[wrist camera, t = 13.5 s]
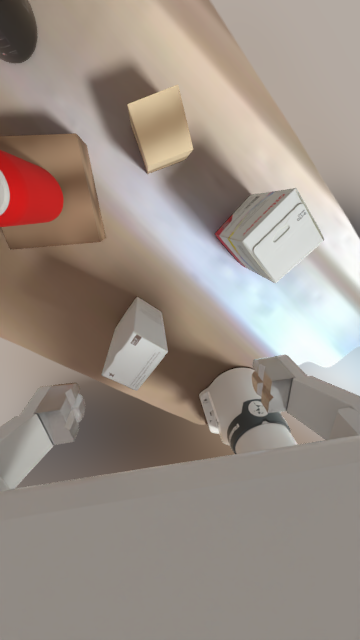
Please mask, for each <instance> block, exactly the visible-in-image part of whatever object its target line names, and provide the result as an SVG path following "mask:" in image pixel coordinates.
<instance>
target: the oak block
mask: <svg viewBox="0 0 360 640" xmlns="http://www.w3.org/2000/svg"><path fill="white" fill-rule="evenodd" d="M127 105H128V111H129V117H130V123H131V126H132V129H133V132H134V135H135V138H136V141H137V144H138V147H139V150H140V153H141V156H142V159H143V162H144V165H145V168H146V171H147V174H149V173H152V172H154V171H157V170H160V169H162V168H165V167H168V166H170V165H173V164H176V163H178V162H181V161H183V160H186V158H187V157H188V156H189V154H190V153H191V152H192V150H193V146H192V141H191V137H190V133H189V129H188V125H187V120H186V116H185V112H184V108H183V103H182V99H181V95H180V91H179V87H178V85H175V86H173V87H170V88H168V89H165V90H163V91H160V92H157V93H155V94H152V95H150V96H147V97H145V98H142V99H139V100H137V101H134V102H132V103H129V104H127Z"/></svg>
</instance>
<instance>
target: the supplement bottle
mask: <svg viewBox="0 0 360 640" xmlns="http://www.w3.org/2000/svg"><path fill="white" fill-rule="evenodd" d="M36 43H37V27H36V21H35V17H34V14H33V11H32V8H31V6H30V4H29V2H28V0H0V59H2V60H4V61H6V62H9V63H22V62H24V61H26V60H28V59H29V58H30V57H31V55H32V54H33V52H34V50H35V47H36Z"/></svg>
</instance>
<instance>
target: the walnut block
mask: <svg viewBox="0 0 360 640" xmlns="http://www.w3.org/2000/svg"><path fill="white" fill-rule="evenodd" d="M0 150H2V151H4V152H7V153H9V154H11V155H14V156H16V157H18V158H21V159H23V160H25V161H28V162H30V163H32V164H35V165H37V166H40V167H42V168H43V169H45V170H46V171H48V172H49V173H50V174H51V175H52V176H53V177H54V178H55V179H56V181H57V182H58V184H59V185H60V188H61V190H62V193H63V200H64V201H63V208H62V211H61V213H60V215H59V216H58V217H57V218H56V219H54V220H52V221H50V222H46V223H37V224H27V225H18V226H8V227H1V228H2V231H3V233H4V236H5V238H6V241H7V243H8V246H9V248H10V249H21V248H33V247H45V246H57V245H69V244H81V243H93V242H101V241H102V240H104V239H105V238H106V237H105V232H104V227H103V222H102V217H101V213H100V208H99V203H98V198H97V193H96V188H95V184H94V179H93V174H92V169H91V164H90V160H89V155H88V150H87V145H86V144H85V143H84V142H83V141H82V140H81V138H80V137H79V136H78V135H77V134H50V135H21V136H0Z"/></svg>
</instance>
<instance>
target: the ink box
mask: <svg viewBox="0 0 360 640" xmlns="http://www.w3.org/2000/svg"><path fill="white" fill-rule="evenodd" d="M215 235H216V237H217V238H218V239H219V240H220V242H221V243H222V244H223V245H224V246H225V247H226V249H227V250H228V251H229V252H230V253H231V254H232V255H233V257H234V258H235V259H236V260H237V261H238V262H239V263H240V264H241V265H242V266H244V267H246V268H248V269H249V270H251V271H253V272H255V273H257V274H259V275H261V276H262V277H264V278H266V279H268V280H270V281H272V282H274V283H277V282H278V281H279V280H280V279H281V278H282V277H283V276H284V275H286V274H287V273H288V272H289V271H290V270H291V269H292V268H294V267H295V266H296V265H297V264H298V263H299V262H300V261H301V260H303V259H304V258H305V257H306V256H307V255H308V254H309V253H311V252H312V251H313V250H314V249H315V248H316V247H317V246H318V245H320V244H321V243H322V242H323V241H324V238H323V236H322V234H321V231H320V229H319V227H318V225H317V224H316V222H315V220H314V218H313V217H312V215H311V213H310V212H309V210H308V208H307V206H306V204H305V202H304V201H303V199H302V197H301V195H300V194H299V192H298V190H297V189H296V188H294V189H287V190H281V191H275V192H267V193H261V194H254V195H250V196H249V197H248V198H247V199H246V200H245V201H244V203H243V204H242V205H241V206H240V207H239V208H238V209H237V210H236V211H235V212H234V213H233V215H232V216H231V217H230V218H229V219H228V220H227V221H226V222H225V223H224V224H223V225H222V226H221V227H220V228H219V230H218V231H217V232H216V233H215Z"/></svg>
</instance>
